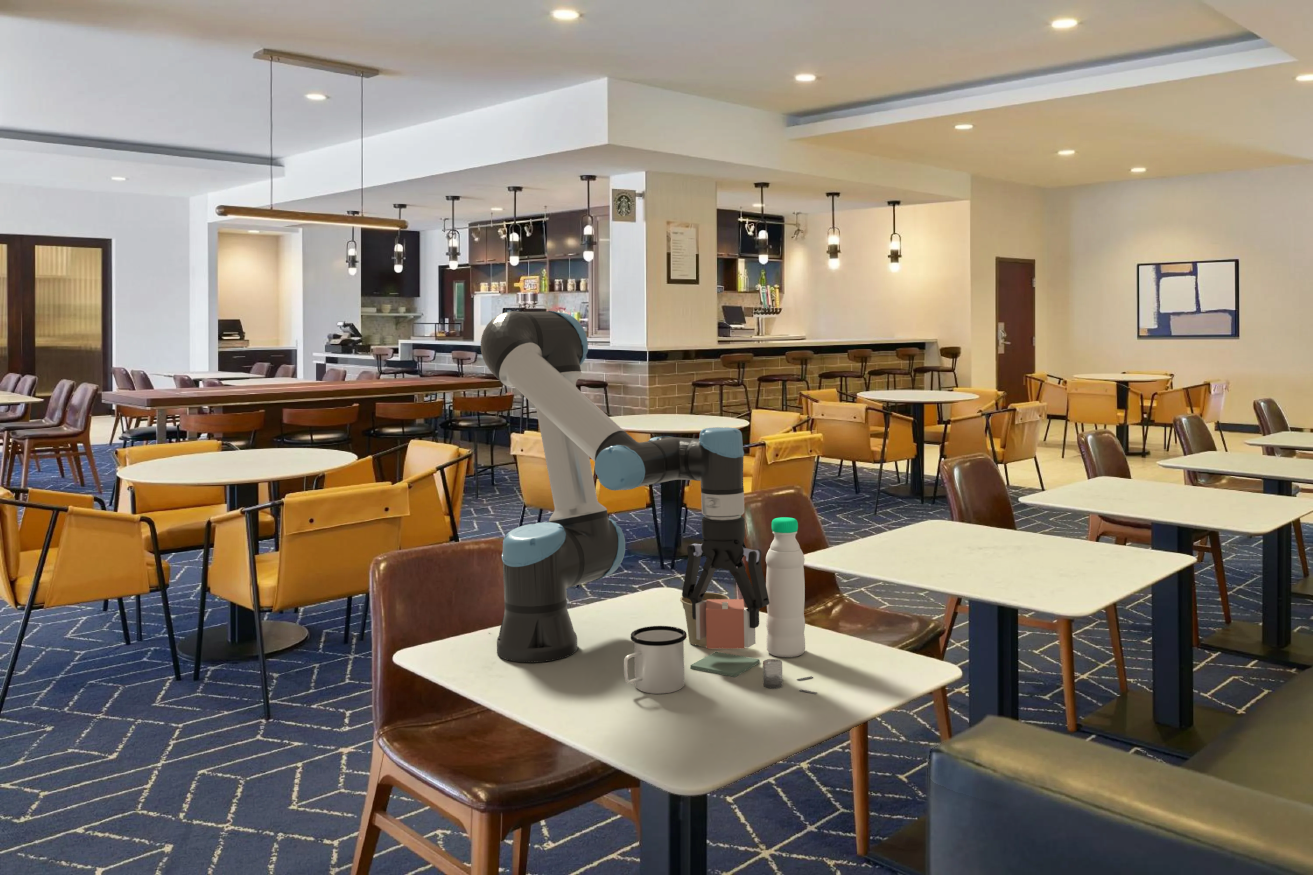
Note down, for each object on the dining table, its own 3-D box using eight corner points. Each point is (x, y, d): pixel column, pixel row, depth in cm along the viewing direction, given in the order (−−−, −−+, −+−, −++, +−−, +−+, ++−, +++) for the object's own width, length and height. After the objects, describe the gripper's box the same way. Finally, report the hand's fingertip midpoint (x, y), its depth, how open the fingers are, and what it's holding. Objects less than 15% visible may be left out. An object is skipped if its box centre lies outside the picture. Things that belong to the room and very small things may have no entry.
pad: (690, 668, 181) (690, 665, 181) (716, 654, 189) (716, 651, 189) (735, 676, 176) (735, 673, 176) (759, 662, 184) (759, 659, 184)
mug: (663, 672, 180) (662, 622, 179) (699, 686, 172) (698, 633, 171) (608, 688, 172) (606, 636, 171) (643, 703, 165) (642, 648, 164)
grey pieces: (759, 686, 172) (759, 663, 171) (783, 671, 179) (783, 649, 178) (812, 696, 166) (812, 672, 166) (834, 680, 173) (834, 657, 173)
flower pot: (740, 643, 195) (739, 599, 194) (700, 653, 190) (699, 607, 189) (710, 632, 203) (709, 589, 202) (671, 641, 198) (670, 597, 197)
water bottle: (804, 659, 185) (803, 522, 183) (764, 657, 187) (763, 521, 184) (806, 647, 192) (805, 515, 190) (768, 645, 193) (767, 514, 191)
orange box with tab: (707, 637, 186) (706, 596, 185) (743, 637, 185) (743, 595, 184) (706, 648, 179) (705, 605, 178) (744, 648, 179) (744, 605, 178)
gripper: (659, 514, 183) (662, 638, 185) (768, 524, 171) (770, 656, 173) (681, 508, 189) (684, 627, 191) (788, 517, 177) (790, 644, 179)
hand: (725, 641), depth 182 cm, fingers closed on orange box with tab, 9 cm apart
